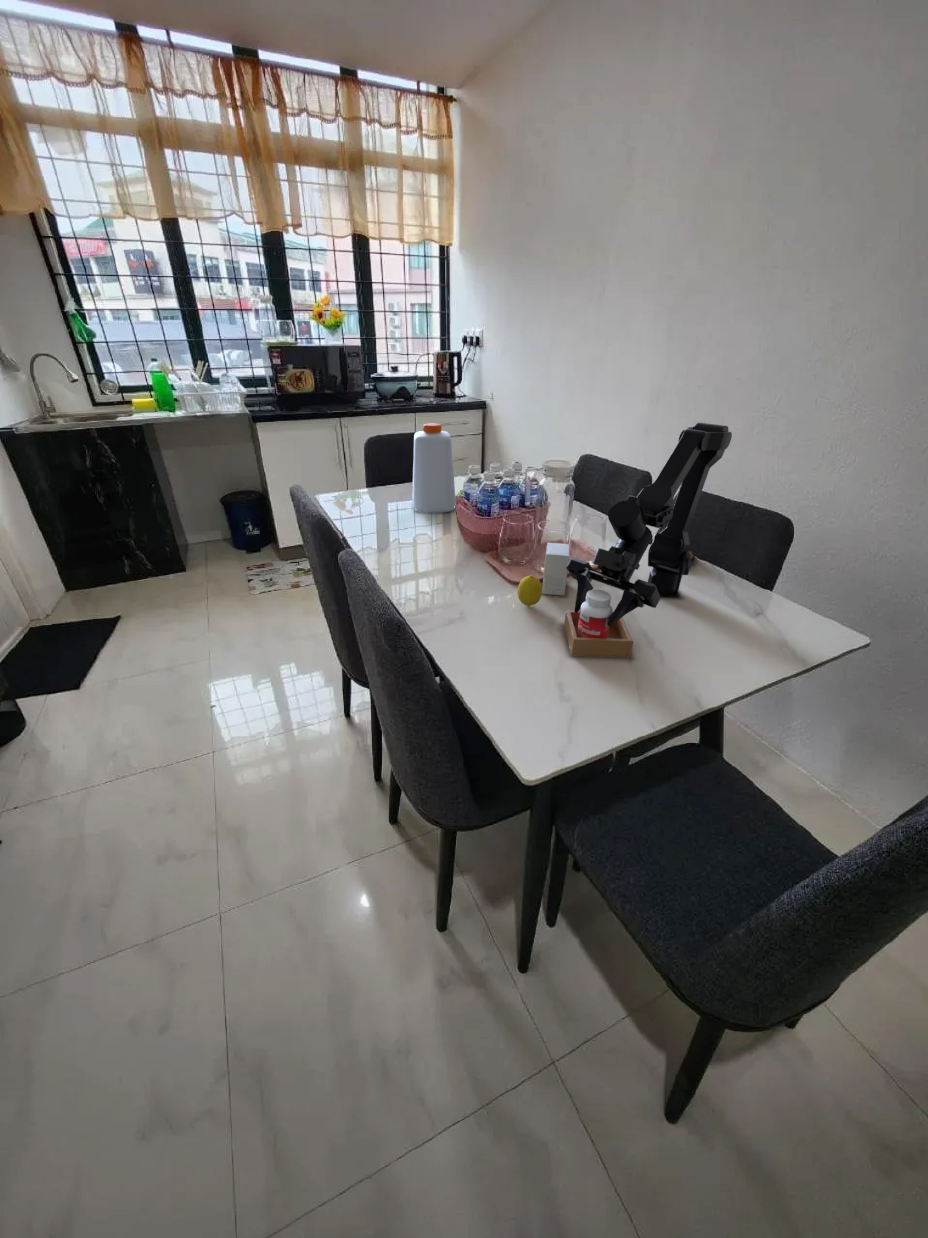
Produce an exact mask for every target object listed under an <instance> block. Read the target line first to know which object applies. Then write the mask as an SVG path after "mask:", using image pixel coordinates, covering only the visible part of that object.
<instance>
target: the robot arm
mask: <svg viewBox="0 0 928 1238" xmlns="http://www.w3.org/2000/svg"><path fill="white" fill-rule="evenodd" d="M732 437H733V433H732V432H731V431H729V426H728V425H722V424H715V423H708V422H707V423H706V422H699V421H698V422H697V423H695V425H694V426H689V427H688V426H687V427H685V429H683V430H682V431H681V432H680V434H679V438H678V442H677V443H676V445H675V447H674V449H673V450H672V452H671V453H670V455H669V457H668V459H667V460H666V462H665V464H664V465H663V467H662V468H661V469H660V471H659V473H658V475H657V476H656V478H655V480H654V481H653V482H652V483H651V484H649V485H647V486H644V487H643V488H642V489H641V490H640V492H639V493H638V494H637V496H634V495H628V496H627V498H626V499H625V500H621V501H618V502H616V503H615V504H614V505H612V506H611V507H610V508H609V511H608V512H607V513H608V514H607V518H608V521H609V523H610V525H611V527H612V529H613V532H614V533H615V535H616V537H617V539H618V540H617V541H616V543H615V545H614V546H613V545H611V546H610V548H609V549H608V550H607V549H604V548H600V547H598V548H597V549H596V552H595V554H594V558H593V560H592V565H596V567H597V568H598V570H600V571H598V570H595V569H593V567H592V566H591V564H590V562H588V561H587V560H586V561H585V560H582V559H579V558H576V557H574V558H571V559H569V562H568V564H567V566H566V569H567V570H568V572H567V573H569V575H570V577H572V579H574V580H575V581H576V582H577V589H576V590H577V591H576V598H575V604H574V609H573V611H575V613H578V612H579V611H580V609H581V605H582V603H583V602H585V601H586V595H587V592H588V591H590V590H594V587H593V585H592V583H591V582H592V581H595V582H599V583H601V584H604V585H607V586H610V587H613V588H615V589H618V590H620V591H623V592H622V595H621V599H620V600H619V602H618V604H617V605H616V607H615V608H614V610H613V611H612V612H613V613H612V615H611V617H610V619H609V621H608V623H607V625H608V626H611V625H613V624H614V623H615V622H617V621H618V620H619V619H621V618H622V617H623V618H624V617H625V616H626V615H627V614H629V613H631V612H632V611H634V610H636V609H638V608H640V609H641V608H642V609H643V608H644V607H645V606H647V607H650V608H653V609H656V608H657V607H658V604H659V602H660V599H661V598H680V597H681V593H679V589H680V586H681V581H682V577H683V576H688V575H689V573H690V570H691V568H692V565H693V563H692V561H691V558H690V554H689V551H690V549H691V541H690V537H689V536H690V535H689V533H688V532H689V529H690V525H691V523H692V520H693V517H694V515H695V512H696V510H697V506H698V504H699V500H700V497H701V495H702V491H703V489H704V487H705V483H706V480H707V478H708V475H709V472H710V469H711V468H712V467H713V466H715V464H717V463H718V462H719V461H720V460H721V459H722V458H723V456H724V453H725V451H726V450H727V449H728V447H729V446H730V444H731V442H732ZM677 492H678V493H677ZM675 496H676V499H675V501H674V498H675ZM665 526H666V527H665ZM650 527H652V528H656V529H660V528H664V527H665V528H664V529H662V530H661V531H660V532H657V533H656V534H655V535H653V533H652V530H651V529H650ZM653 537H654V538H653ZM649 545H650V546H649ZM648 546H649V548H648ZM647 549H648V551H647ZM646 551H647V552H648V553H647V567H650V568H652V570H651V571H649V574H648V580H647V581H646V580H643V579H640V578H639V579H637V580H635V581H634V583H633V582H631V581H630V580H631V579H632V576H633V574H634V573H635V571H636V570H637V571H638V570H639V568H640V566H641V565H640V562H641V560H642V558H643V556H644V554H645V552H646Z"/></svg>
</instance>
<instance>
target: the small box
mask: <svg viewBox="0 0 928 1238" xmlns="http://www.w3.org/2000/svg"><path fill="white" fill-rule="evenodd" d="M570 549H571V544H570V543H569V544H568V543H559V542H558V543H557V542H547V543H546V552H545V557H544V568H543V576H542V595H543V594H544V595H555V596H565V595H566V588H567V578H568V573H569V572H568V570H567V569H566V566H567V564H568V562H569V561H570V555H571V554H570V552H571V551H570Z"/></svg>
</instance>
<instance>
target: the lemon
mask: <svg viewBox="0 0 928 1238" xmlns="http://www.w3.org/2000/svg"><path fill="white" fill-rule="evenodd" d="M542 587H543V585H542V582H541V581H540V579H539V578H537V577H536V576H533V574H530V575H527V576H525V577H523V578H522V579H521V580H520V582H519V583H518V587H517V597H518V600H519V601H520V602H521V604H522V605H524V606H526V607H528V608H529V607H532V606H534V605H537V604H538V603H539V602H540V600H541V598H542V595H543V594H542Z"/></svg>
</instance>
